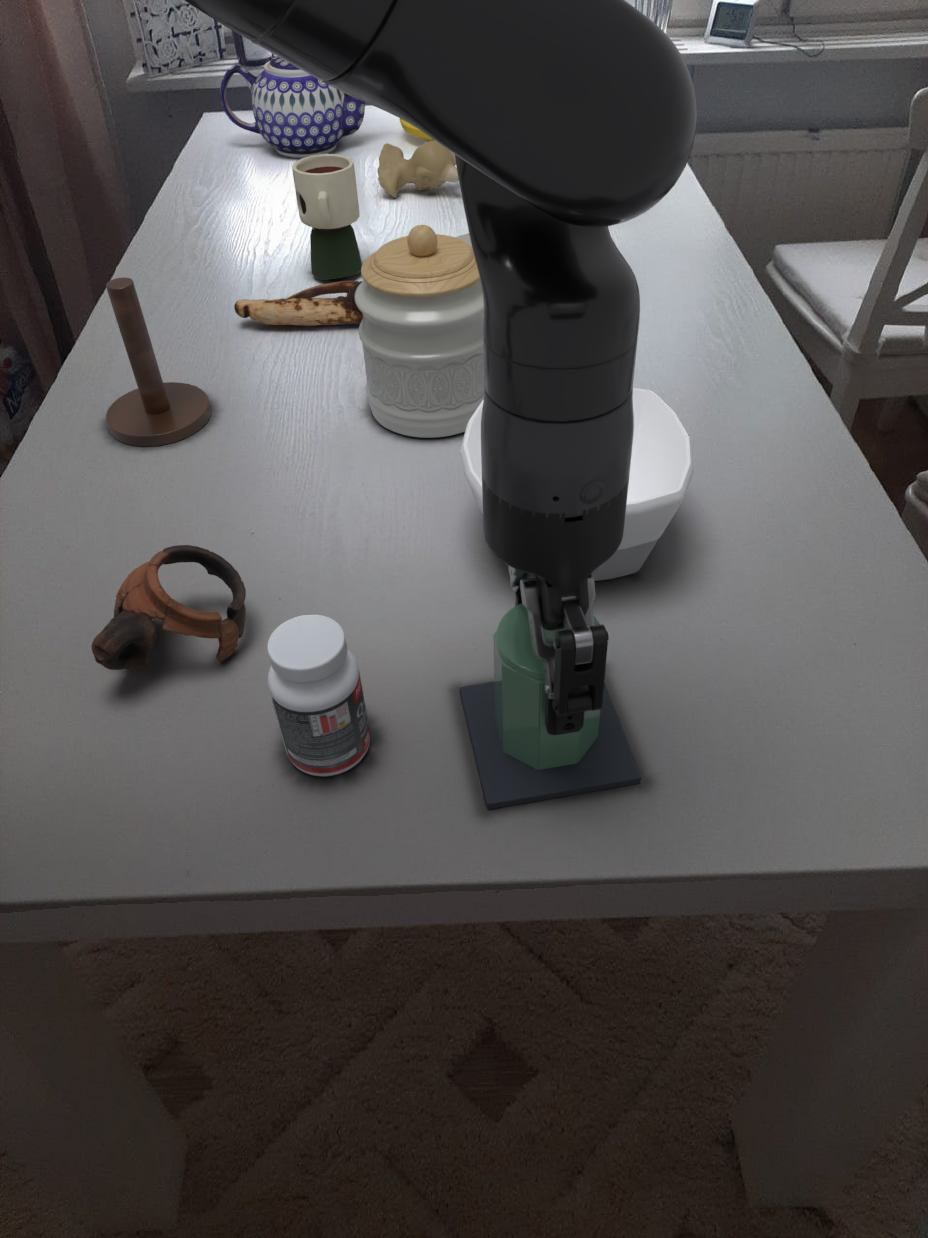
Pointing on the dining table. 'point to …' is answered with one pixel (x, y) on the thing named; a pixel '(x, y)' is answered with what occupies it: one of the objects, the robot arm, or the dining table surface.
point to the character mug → (329, 213)
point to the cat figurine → (416, 167)
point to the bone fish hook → (306, 307)
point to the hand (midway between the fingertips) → (547, 679)
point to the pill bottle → (317, 695)
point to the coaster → (522, 783)
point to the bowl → (652, 479)
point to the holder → (149, 384)
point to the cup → (531, 700)
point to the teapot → (296, 109)
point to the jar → (422, 334)
